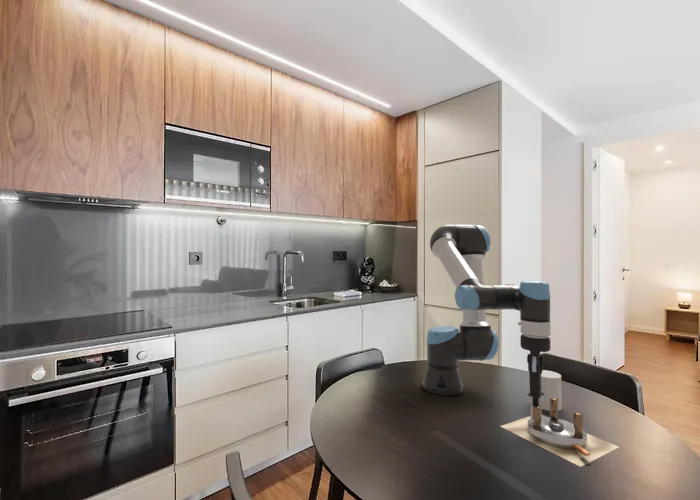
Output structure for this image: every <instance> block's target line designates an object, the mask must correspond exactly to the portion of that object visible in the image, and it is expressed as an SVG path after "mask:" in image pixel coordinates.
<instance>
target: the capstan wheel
mask: <svg viewBox="0 0 700 500" xmlns="http://www.w3.org/2000/svg"><path fill="white" fill-rule="evenodd" d="M583 416H584V415H583V413H582V412H577V411H574V412H573V422H570V421H567V420H565V419H561V418H559V411H558V399H557V398H550V411H549V416H546V417H542V420H541V407H540V406H537V405H533V419H529V420H528V432H529V433H530V434H531V435H532V436H533V437H534V438H536V439H537V440H539V441H541V442H543V443H546V444H548V445H551V446H555V447H559V448H565V449H576V450H578V451H579V452H580V453H582V454H583V455H584V456H590V453H589V452H588V451H586V450H585V449H584V448H583V447H585V446H586V445H587V434H588V433H587V432H586V431H585V429H584V419H583V418H584V417H583ZM586 433H587V434H586Z"/></svg>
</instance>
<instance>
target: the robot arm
mask: <svg viewBox="0 0 700 500" xmlns="http://www.w3.org/2000/svg"><path fill="white" fill-rule="evenodd" d="M429 247H430V251H431V252H432V255H434V256H435V258H437V259H439V261H440V263H441V264H442V266H443V268H444V269H445V271H446V273H447V274H448V276H449V278H450V279H451V281H452V283H453V286H455V292H454V300H455V303H456V306H457V308H458V309H460V310H462V319H463V320H462V322H461V323H460V324H459V328H458V327H457V326H454V325H439V326H434V327H432V328H430V329H428V331H427V334H426V336H427V337H426V366H427V367H426V370H425V372H424V377H423V378H422V388H423V389H424V390H425V391H427V392H429V393H432V394H434V395H435V394H436V395H441V396H455V395H459V394H461V393H462V392H463V391H464V383H463V381H462V378H461V374H460V372H459V371H460V370H459V361H460V362H461V361H463V362H464V361H487V360H488V361H489V360H492V359H494V358H495V356H496V355H497V354H498V350H499V345H500V344H499V337H498V336H497V335H498V334H497V332H496V331H495V330H494V329H492V328H491V327H492V325H491V324H490V323H489V322H488V321H487V316H486V315H487V313H486V310H487V311H488V310H494V311H495V310H499V311H500V310H516V311H519V314H520V321H518V323H517V324H518V326H520V333H521V334H520V348H521V349H523V350H526V351H529V353H527V356H526V358H527V360H526V362H527V368H528V371H527V372H529V392H527V396H528V397H529V398H530V399H529V400H530V401H529V402H530V406H529V408H530V410H529V412H530V415H529V416H530V419H533V405H537V406H540V407H541V395H544V392H541V389H542V388H541V374H542V370H544V369H543V367H544V366H543V364H544V360H545V359H544V355H541V352H542V353H547V352H550V351H551V338H550V336H551V333H552V332H551V293H550V292H551V291H550V284H549V283H548V282H546V281H544V280H543V281H541V280H522V281H520V284H519V285H516V284H512V283H511V284H502V285H489V284H488V285H487V284H486V285H484V273H483V272H484V271H483V263H482V261H483V260H484V259H485V257H486V254H487V253H488V252H489V251H490V248H491V237H490V233H489V231H488V229H487V228H486V227H484V226H483V225H479V224H477V225H476V224H473V223H472V224H444V225H441V226H439V227H438V228H436V229H435V231H434V232H433V233H432V235H431V236H430V239H429ZM542 410H543V409H542V407H541V420H542V415H543V413H542Z"/></svg>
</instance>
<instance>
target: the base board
mask: <svg viewBox="0 0 700 500" xmlns="http://www.w3.org/2000/svg"><path fill="white" fill-rule="evenodd" d="M542 417H547V416H546V415H544V414H542ZM529 419H530V415H528V416H526V417H523V418H520V419H517V420H514V421H511V422H508V423H505V424H502V425H500V426H499V427H501V428H502V429H504V430H506V431H509V432H510V433H513V434H514V435H517V436H518V437H520V438H522V439H524V440H527V441H529V442H530V443H532V444H534V445H536V446H538V447H540V448H542V449H544V450H546V451H547V452H550V453H552V454H554V455H556V456H558V457H560V458H562V459H564V460H565V461H567V462H569V463H572V464H574V465H575V466H578V467H580V468H582V467H584V466H591V462H593V461H595V460H597V459H600V458H602V457H603V456H605V455H608V454H609V453H611V452H613V451H615V450H617V449H619V448H620V446H619V445H615V444H614V443H611V442H609V441H606V440H604V439H601V438H599V437H597V436H594V435H592V434H589V433H587V432H586V434H587V445H586V446H585V447H583V448H584V449H585V450H586V451H588V452H589V453H590V456H584V455H583V454H582V453H580V452H579V451H578V450H576V449H565V448H559V447H555V446H551V445H548V444H546V443H543V442H541V441H539V440H537V439H536V438H534V437H533V436H532V435H531V434H530V433H529V432H528V420H529Z"/></svg>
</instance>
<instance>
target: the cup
mask: <svg viewBox="0 0 700 500" xmlns="http://www.w3.org/2000/svg"><path fill="white" fill-rule="evenodd" d="M541 388H542V389H541V392H544V395H541V407H542V410H544V411H548V412H550V398H557V399H558V412H559V411H561V410H562V405H563V404H562V403H563V401H562V399H563V398H562V396H563V395H562V393H563V392H562V375H561V374H560V373H558V372H555V371H552V370H546V369H543V370H542V374H541Z"/></svg>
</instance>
